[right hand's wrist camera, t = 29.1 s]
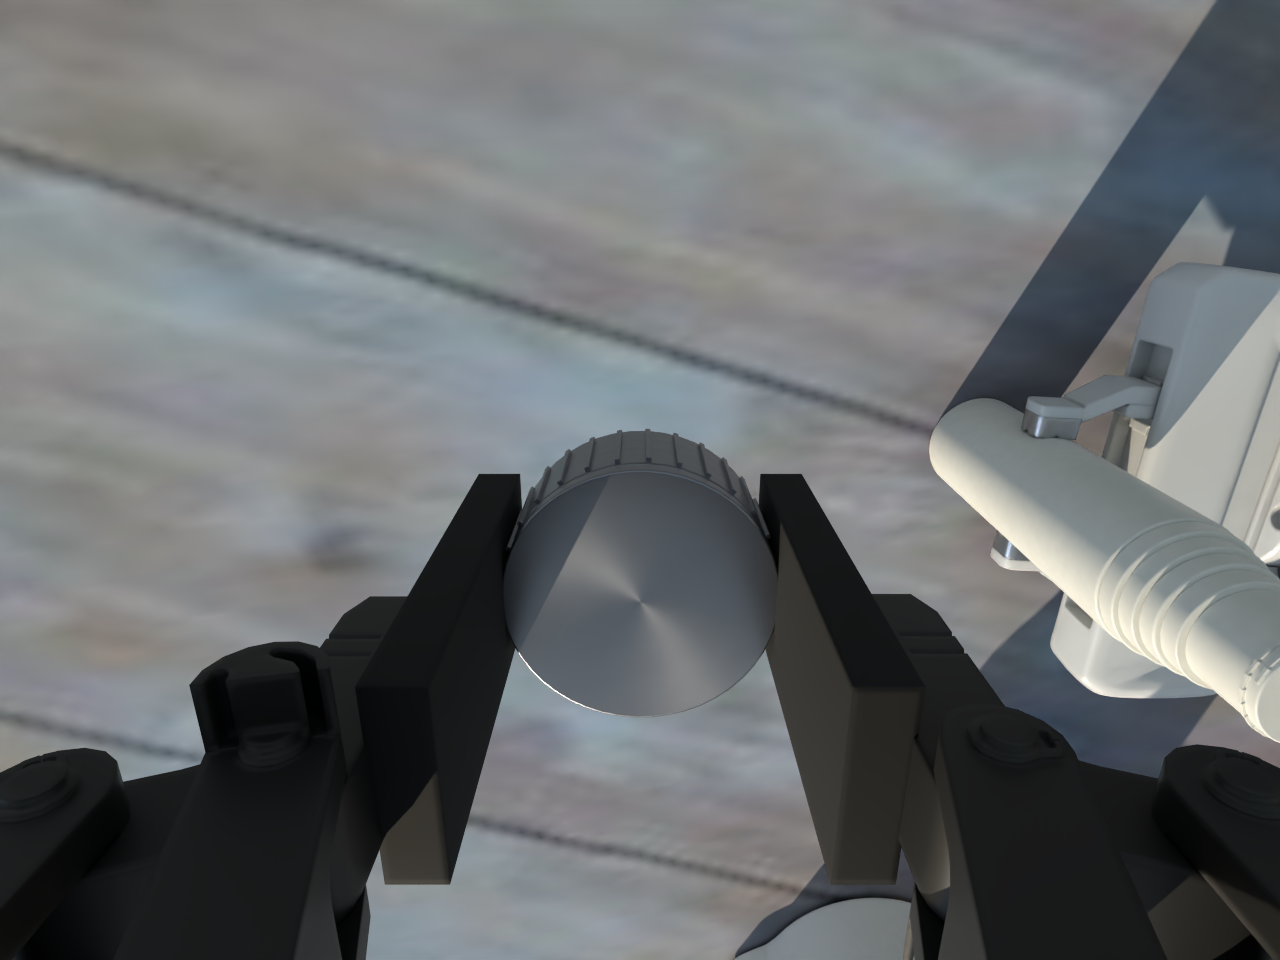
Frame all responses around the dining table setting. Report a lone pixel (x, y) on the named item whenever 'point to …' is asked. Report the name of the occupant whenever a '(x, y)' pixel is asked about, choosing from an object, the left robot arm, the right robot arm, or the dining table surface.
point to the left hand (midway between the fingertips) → (1013, 484)
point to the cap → (640, 576)
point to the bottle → (1124, 554)
